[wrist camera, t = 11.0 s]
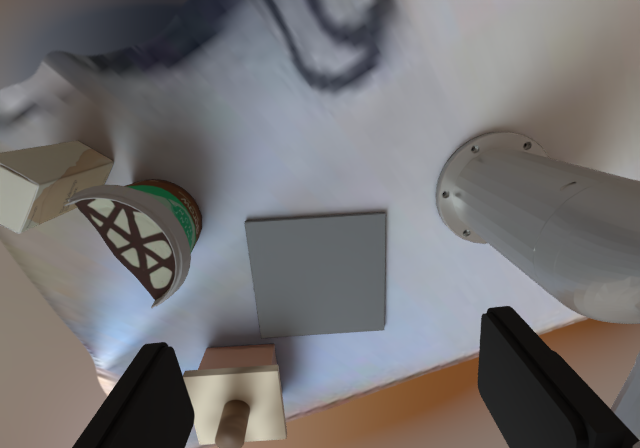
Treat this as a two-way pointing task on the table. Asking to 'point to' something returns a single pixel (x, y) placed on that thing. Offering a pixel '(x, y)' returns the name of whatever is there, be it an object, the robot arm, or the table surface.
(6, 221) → the box
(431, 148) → the table surface
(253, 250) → the mat
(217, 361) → the open square bin
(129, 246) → the food container
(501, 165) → the robot arm
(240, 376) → the lid
